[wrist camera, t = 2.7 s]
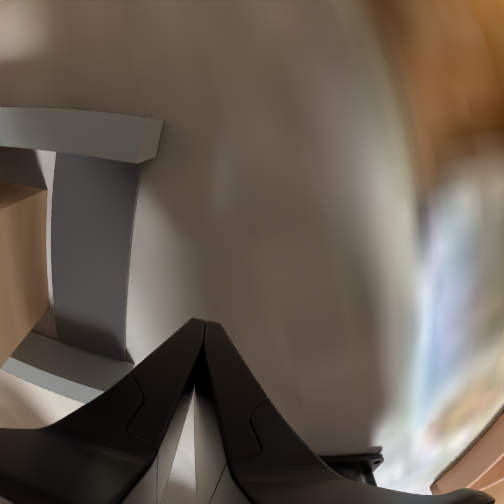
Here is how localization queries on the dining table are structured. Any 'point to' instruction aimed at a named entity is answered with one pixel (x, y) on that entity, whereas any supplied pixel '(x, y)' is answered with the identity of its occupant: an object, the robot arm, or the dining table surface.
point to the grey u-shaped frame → (84, 242)
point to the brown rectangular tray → (477, 464)
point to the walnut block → (21, 263)
